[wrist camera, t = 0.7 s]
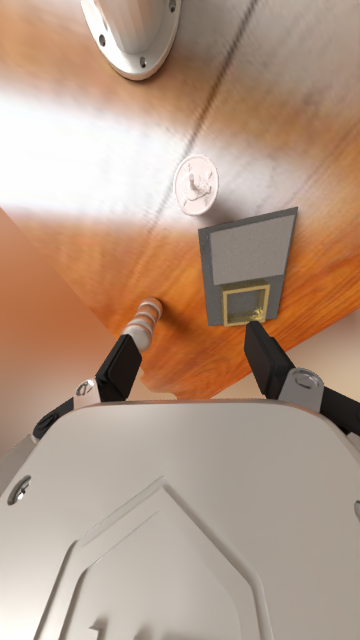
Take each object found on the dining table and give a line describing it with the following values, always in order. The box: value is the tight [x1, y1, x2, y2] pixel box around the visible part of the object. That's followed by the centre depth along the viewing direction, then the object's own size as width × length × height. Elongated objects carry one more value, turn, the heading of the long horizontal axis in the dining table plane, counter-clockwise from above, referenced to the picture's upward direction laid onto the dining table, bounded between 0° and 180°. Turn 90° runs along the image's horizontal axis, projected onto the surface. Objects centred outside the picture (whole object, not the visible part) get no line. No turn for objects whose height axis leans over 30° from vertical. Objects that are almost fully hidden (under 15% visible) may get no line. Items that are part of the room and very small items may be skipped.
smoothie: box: [173, 154, 219, 216], centre depth 22 cm, size 6×6×14 cm
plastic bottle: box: [120, 297, 163, 354], centre depth 33 cm, size 6×7×20 cm
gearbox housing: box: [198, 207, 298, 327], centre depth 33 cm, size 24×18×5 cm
